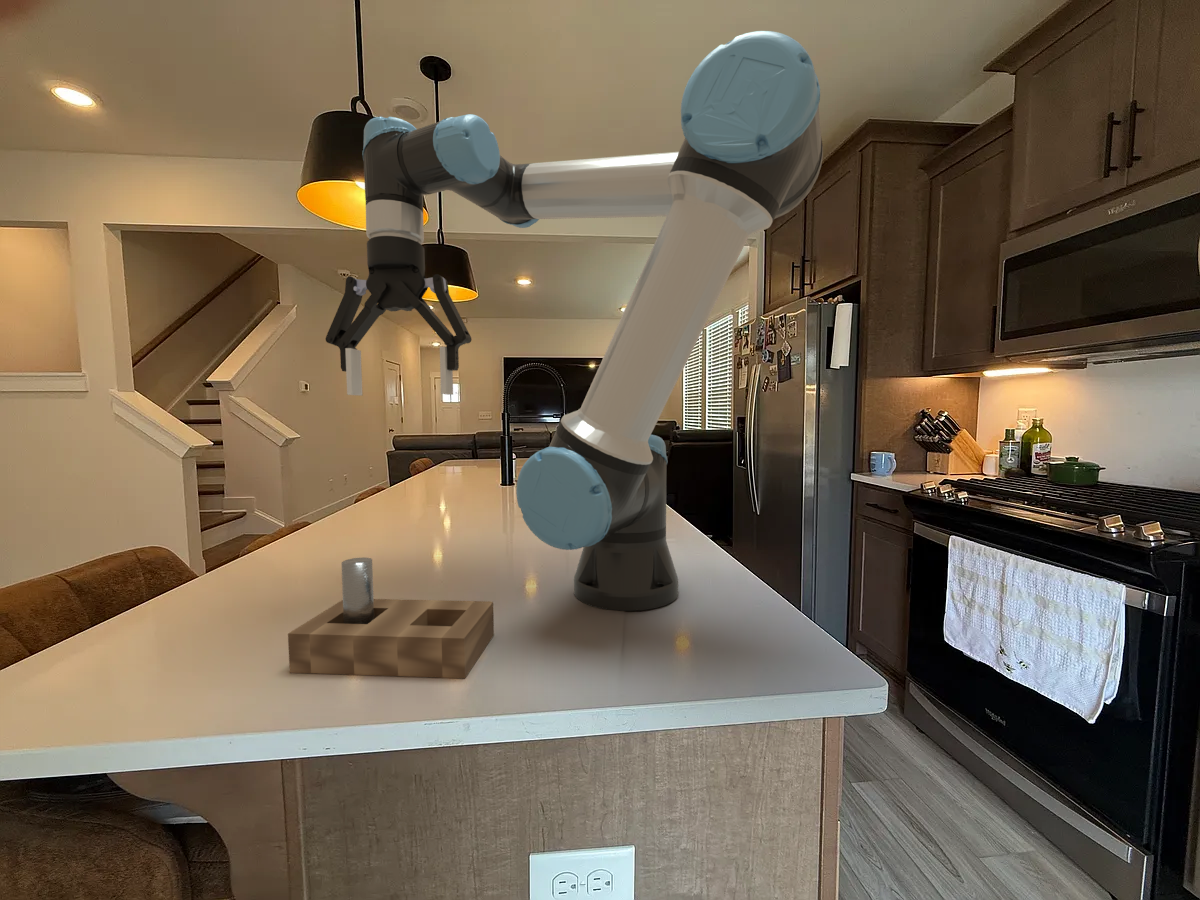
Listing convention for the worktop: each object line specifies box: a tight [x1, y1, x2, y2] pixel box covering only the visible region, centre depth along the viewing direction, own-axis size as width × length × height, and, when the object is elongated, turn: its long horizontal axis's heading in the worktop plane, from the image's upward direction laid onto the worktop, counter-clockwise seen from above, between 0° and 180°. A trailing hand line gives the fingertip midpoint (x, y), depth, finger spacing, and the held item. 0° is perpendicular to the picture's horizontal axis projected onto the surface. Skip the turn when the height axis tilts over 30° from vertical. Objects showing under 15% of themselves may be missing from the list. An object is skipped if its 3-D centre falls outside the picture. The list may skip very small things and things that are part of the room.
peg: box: [341, 557, 375, 624], centre depth 56 cm, size 3×3×10 cm
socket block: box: [287, 598, 495, 679], centre depth 56 cm, size 18×10×4 cm, turn 86°
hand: (400, 394), depth 73 cm, fingers open, 13 cm apart
